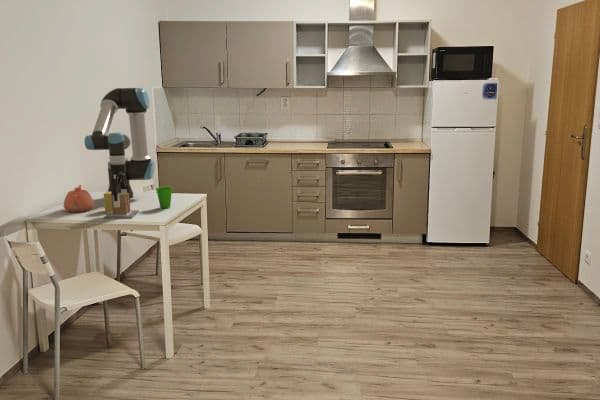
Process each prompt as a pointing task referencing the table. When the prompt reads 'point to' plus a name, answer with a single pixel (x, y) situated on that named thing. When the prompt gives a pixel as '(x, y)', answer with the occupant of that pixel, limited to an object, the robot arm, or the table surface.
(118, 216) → the board
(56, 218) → the table surface
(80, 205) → the orange rounded lump
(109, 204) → the mustard block
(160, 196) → the cup
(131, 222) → the table surface
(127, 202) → the walnut block
